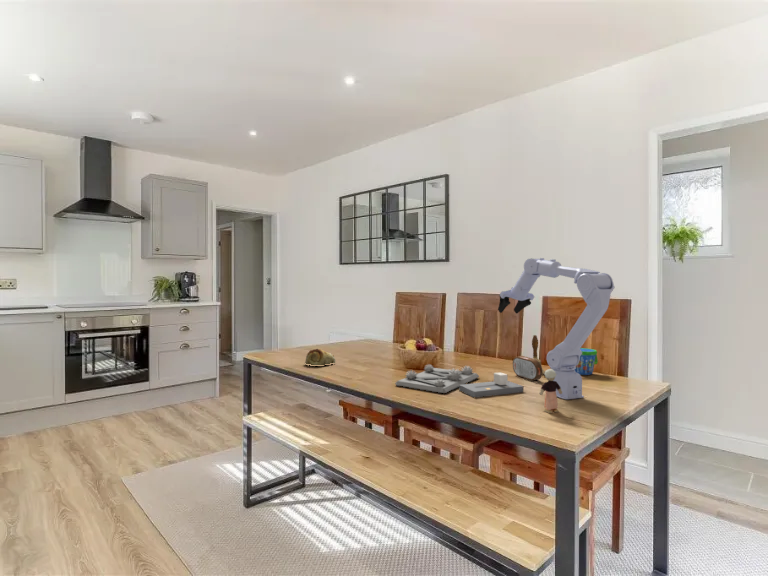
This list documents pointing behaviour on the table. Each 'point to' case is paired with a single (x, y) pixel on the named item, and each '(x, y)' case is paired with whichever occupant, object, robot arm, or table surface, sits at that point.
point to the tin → (527, 368)
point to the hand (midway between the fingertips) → (507, 311)
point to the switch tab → (501, 378)
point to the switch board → (490, 389)
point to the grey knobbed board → (438, 379)
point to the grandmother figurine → (550, 392)
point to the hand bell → (535, 346)
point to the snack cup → (586, 361)
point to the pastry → (319, 357)
